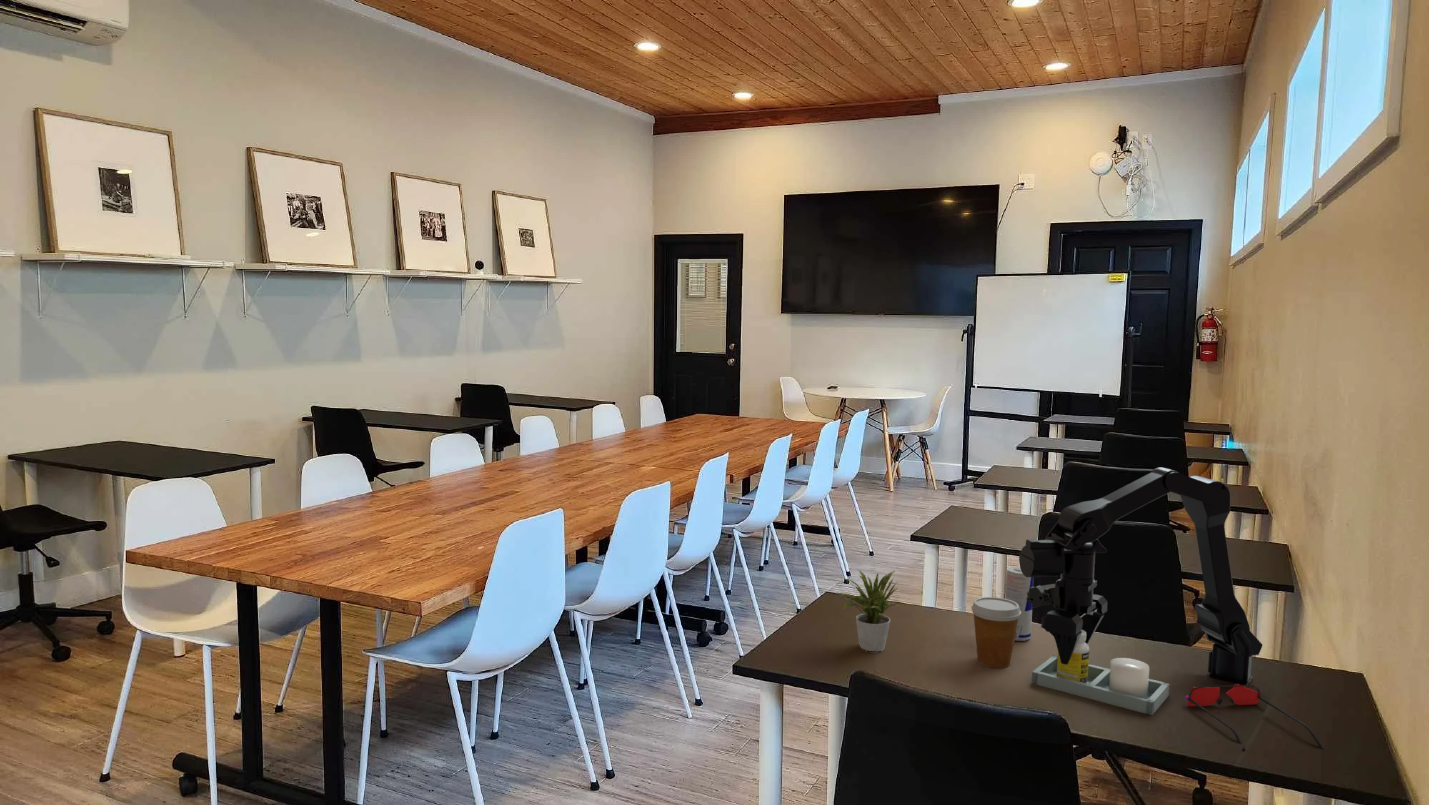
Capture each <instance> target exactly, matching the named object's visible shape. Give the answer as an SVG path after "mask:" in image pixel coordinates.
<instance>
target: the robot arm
mask: <svg viewBox="0 0 1429 805" xmlns="http://www.w3.org/2000/svg"><path fill="white" fill-rule="evenodd" d="M1169 493H1172V494H1176V495H1179V496H1180V498H1181V501H1182V505H1183V507H1184V510H1185V512H1186V513H1187V515H1188V517H1189V518H1190V519H1191V521H1192V522H1193V524H1194V528H1195V532H1196V541H1197V548H1198V553H1199V558H1200V559H1199V560H1200V566H1201V573H1202V579H1203V580H1202V581H1203V585H1204V594H1205V596H1204V598H1203V600H1202V602H1201V603H1197V604H1195V606H1194V608H1195V609H1194V610H1195V613H1196V617H1197V618H1196V624H1197V625H1199V626H1200V629H1201V630H1202V632H1204V633H1205V637H1206V639H1207V641H1209V642H1212V643H1213V645H1212V649H1211V650H1210V651H1209V652H1208V664H1207V673H1209V674H1208V678H1209V679H1210V678H1211V679H1214V680H1218V681H1224V682H1227V683H1231V684H1236V685H1237V684H1239V685H1250V682H1251V681H1252V680H1251V679H1253V678H1254V677H1253V674H1252V673H1251V672H1252V662H1253V661H1252V660H1253V656H1259V655H1260V653H1261V651H1262V648H1263V644H1262V642H1261V641H1260V640H1259V639H1258V638H1257V637H1256V636H1255V634H1254V633H1253V632H1251V627H1250V623H1249V620H1248V616H1247V614H1246V612H1245V610H1244V608H1243V607H1242V605H1241V604H1240V602H1239V600H1238V599H1237V597H1236V595H1235V590H1234V583H1233V577H1232V569H1231V564H1230V563H1231V562H1230V556H1229V550H1228V543H1227V541H1228V540H1227V534H1226V529H1225V523H1226V521H1227V519H1228V516H1229V515H1230V512H1231V491H1230V488H1229V487H1228V485H1226V484H1225V483H1224V482H1221V481H1218V480H1215V479H1211V478H1207V477H1204V476H1200V475H1192V476H1188V475H1185V474H1182V473H1180V472H1178V471H1177V470H1173V469H1171V468H1167V467H1162V466H1161V467H1160V466H1159V467H1156V468H1154V469H1153V470H1152V471H1151V472H1150V473H1147V474H1145V475H1144V476H1142V477H1140V478H1138V479H1136V480H1134V481H1131V483H1128V484H1126V485H1124V486H1123V487H1120V488H1118V489H1117V490H1114V491H1113V492H1111V493H1109V494H1107V495H1105V496H1103V497H1100V498H1098V499H1094V500H1087V501H1081V502H1078V503H1075V504H1072V505H1068V506H1066V507H1064V508H1063V509H1062V510H1061V511H1060V513H1059V517H1058V520H1057V521H1056V522H1055V524H1054V525H1053V526H1052V528H1050V530H1049V532H1048V533H1047V534H1046V536H1045V539H1040V540H1039V539H1034V538H1033V539H1032V538H1031V539H1030V538H1029V539H1028V538H1027V539H1026V540H1025V545H1024V546H1023V547H1022V548H1021V551H1020V553H1019V556H1018V562H1019V567H1020V569H1021V571H1022V573H1023V575H1024V576H1025V577H1034V578H1046V577H1047V578H1049V577H1052V578H1053V577H1058V576H1060V577H1059V579H1057V580H1056V581H1055V582H1054V583H1051V584H1044V585H1037V586H1034V585H1033V586H1032V587H1031V588H1029V591H1028V592H1027V598H1026V600H1027V601H1028V602H1030V603H1031V605H1032V609H1036V608H1039V607H1042V606H1043V607H1044V606H1050V605H1052V607H1053V609H1051V610H1050V611H1048V612H1046V614H1044V615H1043V616H1041V622H1040V623H1041V624H1040V625H1041V626H1040V627H1041V628H1042V629H1044V630H1045V632H1047V633H1050V634H1051V636H1052V637H1053V638H1054V641H1055V644H1056V649H1057V654H1058V653H1059V656H1060V660H1061V663H1062V664H1065V665H1067V664H1068V663H1069V661H1070V658H1071V656H1072V654H1073V652H1074V649H1075V647H1076V645H1077V643H1078V640H1079V638H1080V636H1081V634H1082V631H1081V630H1084V631H1085V632H1086V641H1084V642H1085V643H1087V644H1088V645H1089V643H1090V641H1091V639H1092V637H1093V636H1094V634H1095V632H1096V630H1097V628H1098V627H1099V625H1100V623H1101V621H1102V620H1103V618H1104V617H1105V613H1107V612H1108V600H1107V599H1106V598H1105V597H1104V596H1103V595H1099V594H1096V593H1095V594H1094V589H1095V588H1096V587H1098V580H1095V564H1096V554H1104V553H1107V552H1108V549H1107V548H1106V547H1105V546H1103V545H1102V544H1101V542H1100V540H1099V539H1100V538H1101V537H1102V536H1104V535H1105V534H1106V533H1108V532H1109V531H1110V529H1111V527H1112V525H1114V523H1115V522H1116V521H1118V520H1120V519H1121V518H1123V517H1125V516H1127V515H1129V514H1131V513H1132V512H1135V511H1136V510H1138V509H1140V508H1143V507H1145V506H1146V505H1148V504H1149V503H1152V502H1154V501H1156V500H1158V499H1160V498H1162V497H1163V496H1165V495H1168V494H1169ZM1065 535H1066V536H1068V537H1070V538H1068V537H1066V536H1065ZM1060 609H1062V610H1060ZM1097 611H1098V612H1097Z"/></svg>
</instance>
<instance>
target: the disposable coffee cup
mask: <svg viewBox="0 0 1429 805" xmlns="http://www.w3.org/2000/svg"><path fill="white" fill-rule="evenodd" d="M972 603H973V604H972V605H971V611H972V614H973V625H974V633H975V634H974V635H975V636H974V637H975V645H976V657H977V662H978V663H979V664H981V665H983V666H986V667H989V668H995V669H997V668H998V669H1002V668H1003V669H1004V668H1007V667H1010V665H1011V662H1012V661H1011V660H1012V656H1013V650H1014V644H1015V634H1016V629H1017V623H1018V618H1019V617H1020V615H1021V611H1020V609H1019V605H1018V604H1017V603H1016V602H1014V601H1011V600H1008V599H1005V597H1004V598H1003V597H994V596H984V597H979V598H976V599H974V600H973V602H972Z"/></svg>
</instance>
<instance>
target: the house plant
mask: <svg viewBox="0 0 1429 805" xmlns="http://www.w3.org/2000/svg"><path fill="white" fill-rule="evenodd" d="M856 570H857V571H858V572H859V574H860V575H859V577H860V579H861V580H862V582H863V586H864V589H865V591H866V593H867V594H866V593H865V592H864V590H863V589H862V588H861V587H860V586H859V585H858V584H857V583H856V582H855V581H853V580H851V579H849V578H845V577H840V576H839V577H838V578H840V579H843V580H846V581H847V583H849V586H853V587H855V589H856V590H857V591H858V593H859V595H856V596H855V595H853V594H850V593H844V592H837V594H838V595H840V596H843V597H844V599H845V600H847V601H849V602H845V603H844V604H843V609H847V608H850V607H854V606H855V608H856V609H858V610H859V611H860V612H861V614H857V615H856V616H855V622H856V628H857V629H856V630H857V637H858V645H860V646H859V648H860V647H861V648H863V649H866V650H869V651H881V652H883V650H884V651H885V647H886V643H887V638H888V634H889V631H890V630H889V629H890V624H891V618H890V617H889V616H887V615H885V614H884V612H885V611H886V610H888V609H889V608H890V607H892V606H896V605H897V603H894V604H891V602H889V601H888V600H890V599H891V596H892V594H894V592H895V591H897V590H898V589H899V587H897V588H895V586H896V584H898V582H899V581H898V580H897V581H896V582H895V583H894V584H893V582H894V579H895V577H893V578H892V579H891V577H892V575H893V574H894V573H895V572H896V570H893V571H890V572H889V573H887V574H885V575H884V576H883V577H882V578H880V581H879V573H876V575H875V579H874V581H873V582H872V580H871V578H870V577H869V576H866V575H865V574H864V573H863V572H862V571H861V570H860V569H858V568H856ZM890 579H891V580H890ZM848 581H849V582H848ZM872 583H873V584H872ZM853 584H854V585H853ZM887 584H888V585H887ZM892 584H893V585H892ZM894 588H895V589H894ZM889 589H890V590H889ZM888 590H889V592H887V591H888ZM840 599H842V597H840ZM898 605H900V606H903V603H898ZM861 609H862V610H861Z"/></svg>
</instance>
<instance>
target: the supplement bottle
mask: <svg viewBox="0 0 1429 805" xmlns="http://www.w3.org/2000/svg"><path fill="white" fill-rule="evenodd" d="M1081 631H1082V634H1081V636H1080V638H1079V640H1078V643H1077V645H1076V647H1075V649H1074V652H1073V654H1072V656H1071V658H1070V661H1069V663H1068V664H1067V665H1065V664H1062V663H1061V660H1060V656H1059V653H1058V652H1057V656H1058V662H1057V676H1059V677H1063V678H1067V679H1071V680H1074V681H1078V682H1082V683H1086V684H1087V677H1088V664H1090V663H1089V661H1090V660H1089V659H1090V646H1089V643H1088V644H1087V643H1085V642H1084V641H1086V632H1085V631H1084V630H1081Z"/></svg>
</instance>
